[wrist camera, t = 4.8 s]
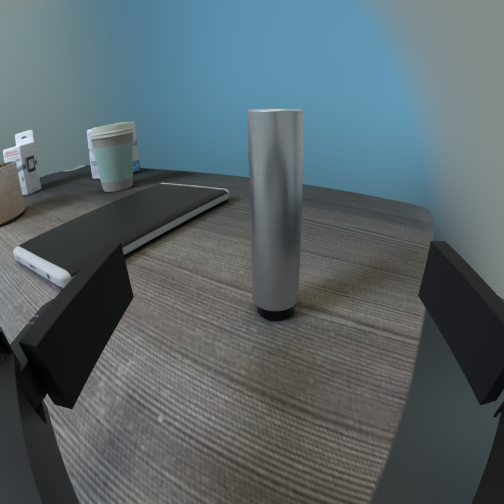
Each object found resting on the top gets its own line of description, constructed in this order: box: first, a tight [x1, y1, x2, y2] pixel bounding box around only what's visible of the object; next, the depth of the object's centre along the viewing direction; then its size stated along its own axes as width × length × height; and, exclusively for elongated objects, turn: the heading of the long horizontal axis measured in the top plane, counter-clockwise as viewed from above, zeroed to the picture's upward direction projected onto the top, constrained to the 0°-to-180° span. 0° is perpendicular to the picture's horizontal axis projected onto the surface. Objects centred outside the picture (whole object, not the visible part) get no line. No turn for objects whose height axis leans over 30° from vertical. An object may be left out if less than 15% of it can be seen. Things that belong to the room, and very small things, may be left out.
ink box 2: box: [87, 122, 140, 179], centre depth 65 cm, size 8×8×12 cm
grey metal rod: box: [247, 109, 303, 321], centre depth 19 cm, size 3×3×13 cm
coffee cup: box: [89, 122, 134, 192], centre depth 53 cm, size 9×9×12 cm
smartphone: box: [13, 183, 229, 288], centre depth 37 cm, size 13×27×2 cm, turn 152°
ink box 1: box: [3, 130, 41, 195], centre depth 59 cm, size 8×5×15 cm, turn 76°
